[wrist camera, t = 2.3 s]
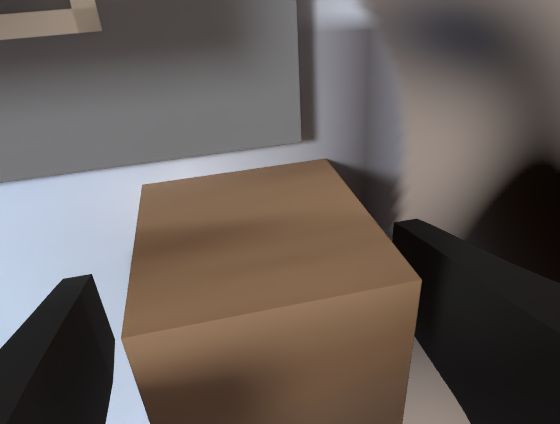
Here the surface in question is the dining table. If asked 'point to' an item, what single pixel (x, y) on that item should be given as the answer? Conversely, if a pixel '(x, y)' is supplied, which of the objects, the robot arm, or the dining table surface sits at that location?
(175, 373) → the walnut block
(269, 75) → the mat
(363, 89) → the dining table surface
